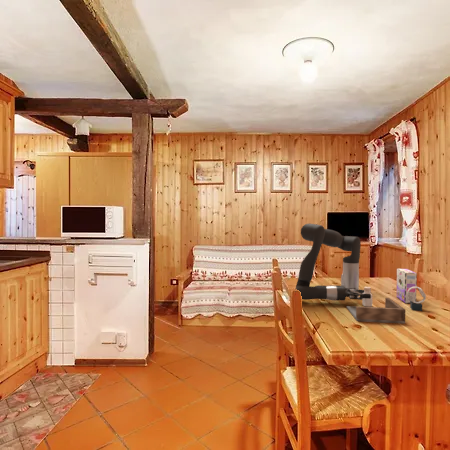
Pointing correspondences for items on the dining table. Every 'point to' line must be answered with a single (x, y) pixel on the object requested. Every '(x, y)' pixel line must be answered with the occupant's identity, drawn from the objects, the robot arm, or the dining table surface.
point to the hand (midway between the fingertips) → (368, 294)
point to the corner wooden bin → (379, 313)
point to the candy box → (406, 285)
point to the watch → (413, 304)
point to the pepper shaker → (366, 301)
